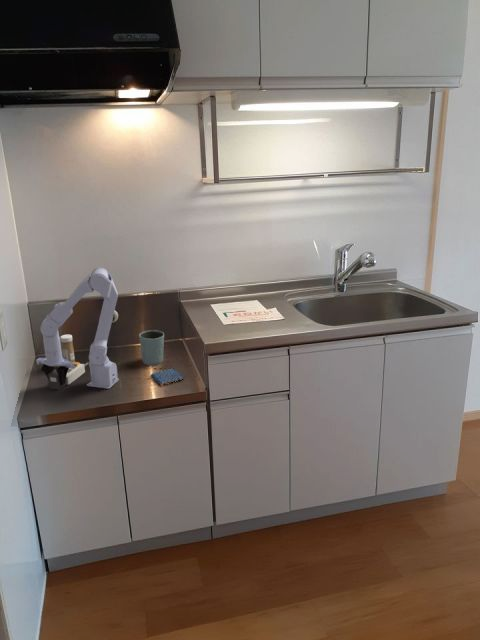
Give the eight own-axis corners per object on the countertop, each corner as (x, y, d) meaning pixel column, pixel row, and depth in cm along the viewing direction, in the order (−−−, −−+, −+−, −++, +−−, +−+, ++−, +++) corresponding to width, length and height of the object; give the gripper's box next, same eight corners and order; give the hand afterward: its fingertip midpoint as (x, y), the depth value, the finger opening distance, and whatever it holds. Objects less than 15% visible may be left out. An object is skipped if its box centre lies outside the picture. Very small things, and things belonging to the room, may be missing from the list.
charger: (69, 382, 197) (67, 368, 195) (59, 389, 191) (57, 375, 189) (60, 380, 198) (58, 367, 196) (49, 388, 192) (47, 374, 190)
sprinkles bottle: (77, 367, 210) (73, 336, 206) (66, 369, 208) (61, 339, 203) (73, 363, 214) (70, 333, 209) (62, 365, 212) (58, 335, 207)
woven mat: (185, 381, 199) (185, 376, 198) (160, 388, 193) (160, 383, 193) (174, 371, 207) (174, 366, 206) (149, 377, 202) (149, 373, 201)
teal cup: (138, 358, 218) (136, 332, 214) (161, 354, 222) (160, 328, 218) (144, 367, 209) (142, 340, 205) (168, 363, 213) (167, 336, 209)
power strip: (94, 364, 212) (93, 355, 211) (68, 384, 195) (67, 375, 194) (82, 363, 214) (81, 354, 212) (55, 383, 197) (54, 373, 195)
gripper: (76, 347, 190) (80, 380, 195) (42, 343, 194) (47, 376, 199) (65, 355, 184) (70, 389, 189) (30, 351, 188) (36, 384, 192)
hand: (57, 383), depth 193 cm, fingers closed on charger, 4 cm apart
